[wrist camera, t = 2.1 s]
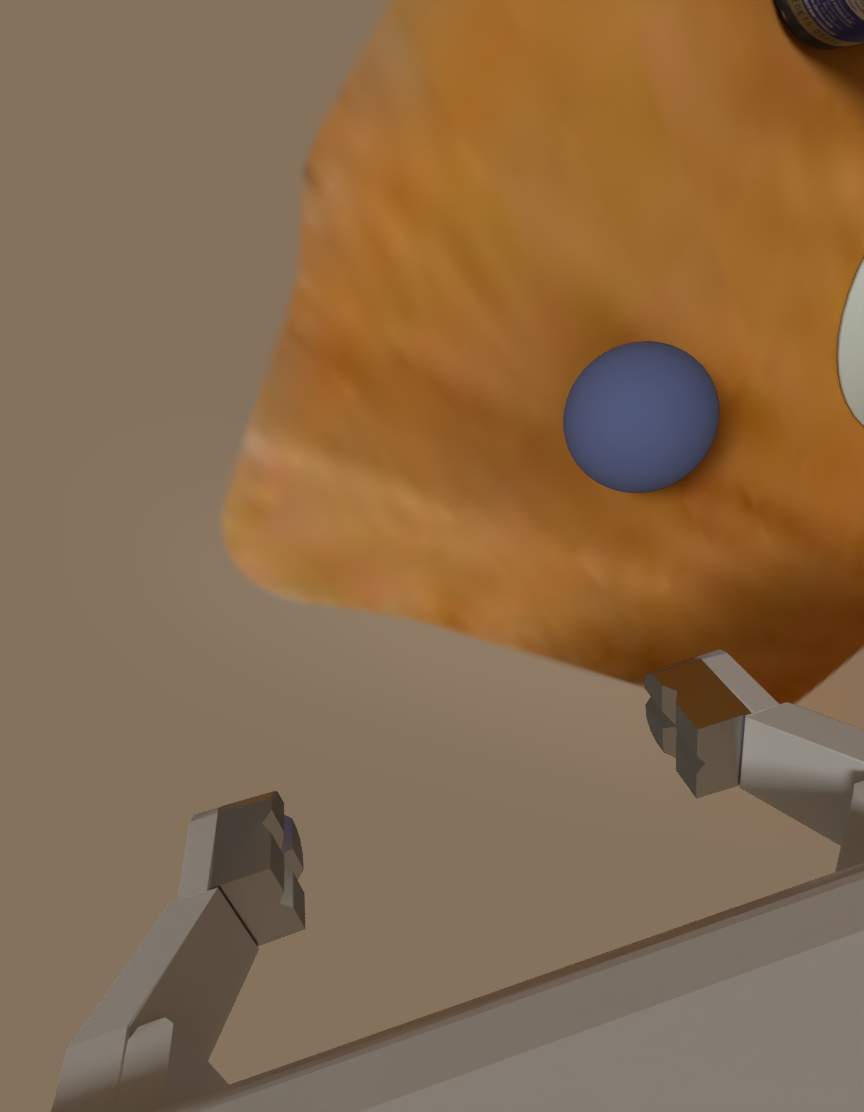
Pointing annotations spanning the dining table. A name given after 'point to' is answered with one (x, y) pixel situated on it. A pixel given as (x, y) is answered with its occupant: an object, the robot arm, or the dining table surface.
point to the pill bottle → (824, 21)
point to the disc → (853, 347)
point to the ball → (641, 417)
